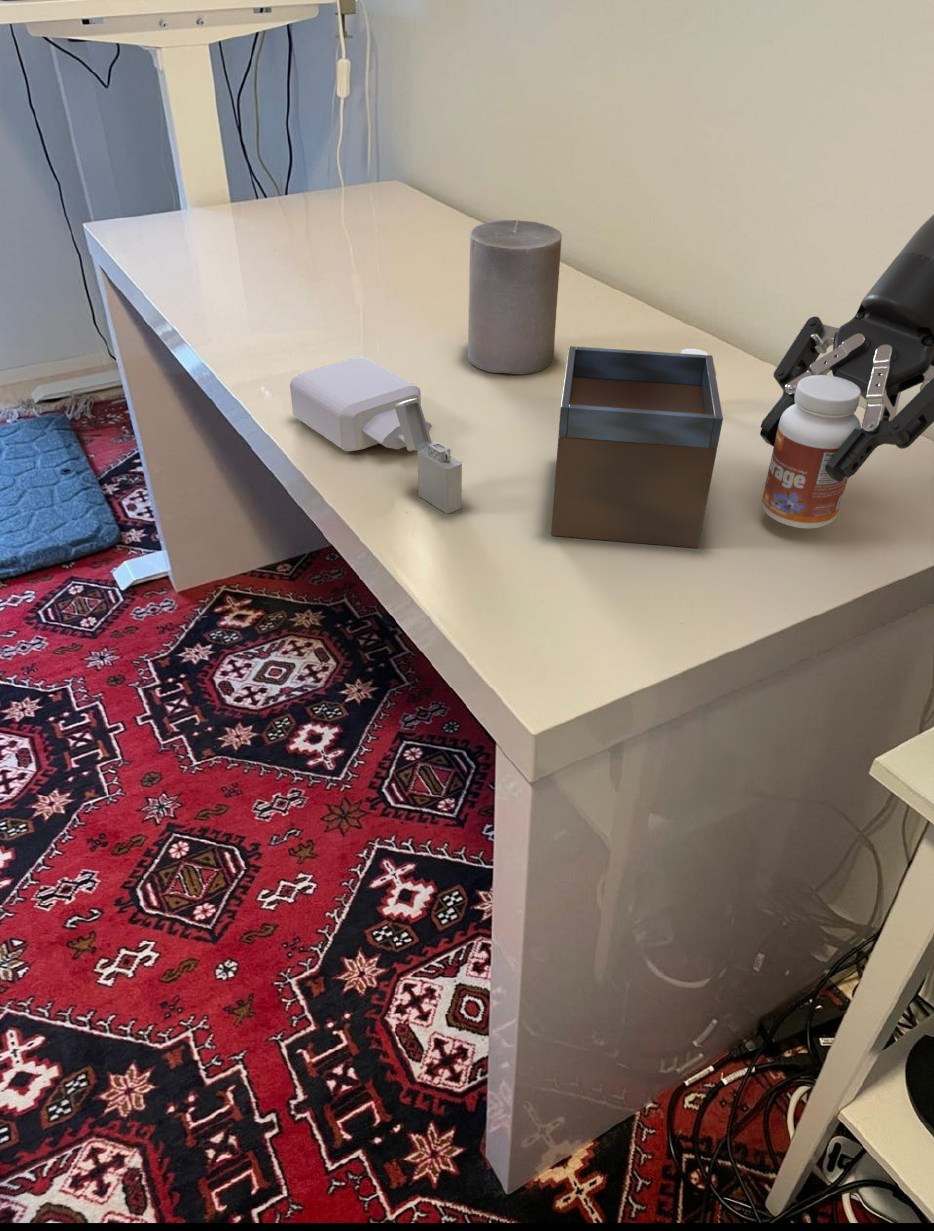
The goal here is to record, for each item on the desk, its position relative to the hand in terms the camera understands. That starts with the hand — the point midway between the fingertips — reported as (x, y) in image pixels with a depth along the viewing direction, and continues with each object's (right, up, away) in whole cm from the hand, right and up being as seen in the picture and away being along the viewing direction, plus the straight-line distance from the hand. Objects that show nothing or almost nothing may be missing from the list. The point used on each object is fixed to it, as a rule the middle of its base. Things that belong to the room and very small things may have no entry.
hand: (798, 457), depth 76 cm
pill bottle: (+1, -4, +4) cm, 6 cm away
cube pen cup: (-13, -3, +7) cm, 15 cm away
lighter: (-30, -2, +8) cm, 31 cm away
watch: (-4, +8, +22) cm, 24 cm away
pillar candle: (-21, +16, +32) cm, 42 cm away
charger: (-35, +5, +17) cm, 39 cm away
